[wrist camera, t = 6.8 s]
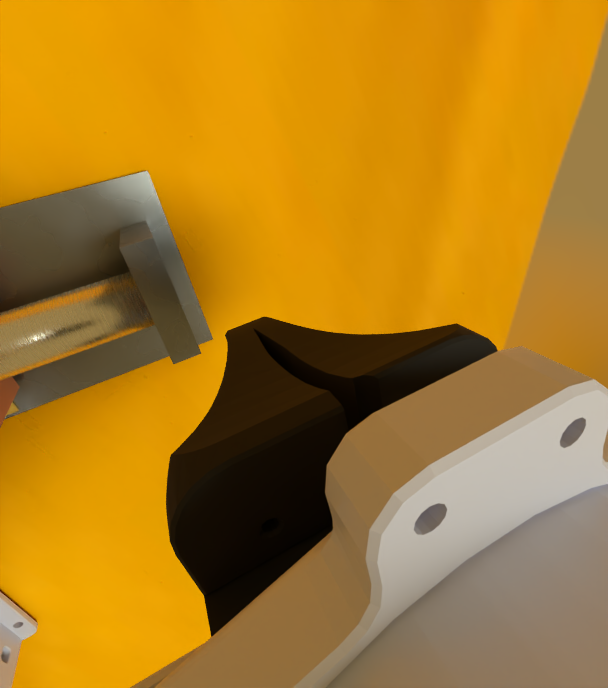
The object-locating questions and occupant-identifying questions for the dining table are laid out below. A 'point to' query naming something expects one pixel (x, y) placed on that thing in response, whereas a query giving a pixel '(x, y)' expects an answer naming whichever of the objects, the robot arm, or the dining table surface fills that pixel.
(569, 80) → the dining table surface
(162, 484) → the dining table surface
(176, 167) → the dining table surface
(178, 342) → the pipe rig
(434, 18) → the dining table surface
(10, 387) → the orange block
